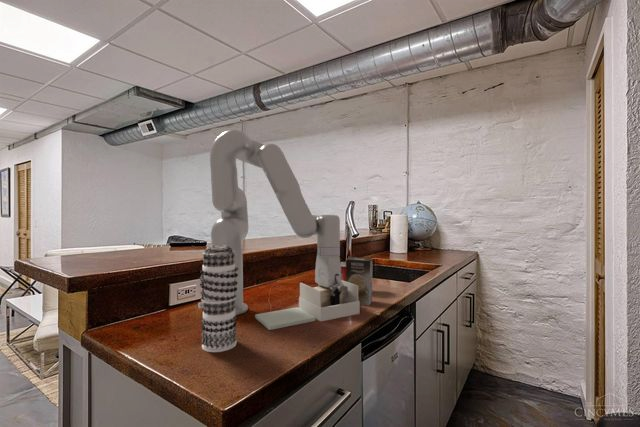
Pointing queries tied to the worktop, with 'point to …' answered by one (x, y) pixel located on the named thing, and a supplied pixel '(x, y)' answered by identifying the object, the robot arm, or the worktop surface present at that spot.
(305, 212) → the robot arm
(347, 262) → the coffee box
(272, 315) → the sage board
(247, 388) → the worktop surface
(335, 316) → the carton
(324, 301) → the birch box
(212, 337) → the decorative candle
